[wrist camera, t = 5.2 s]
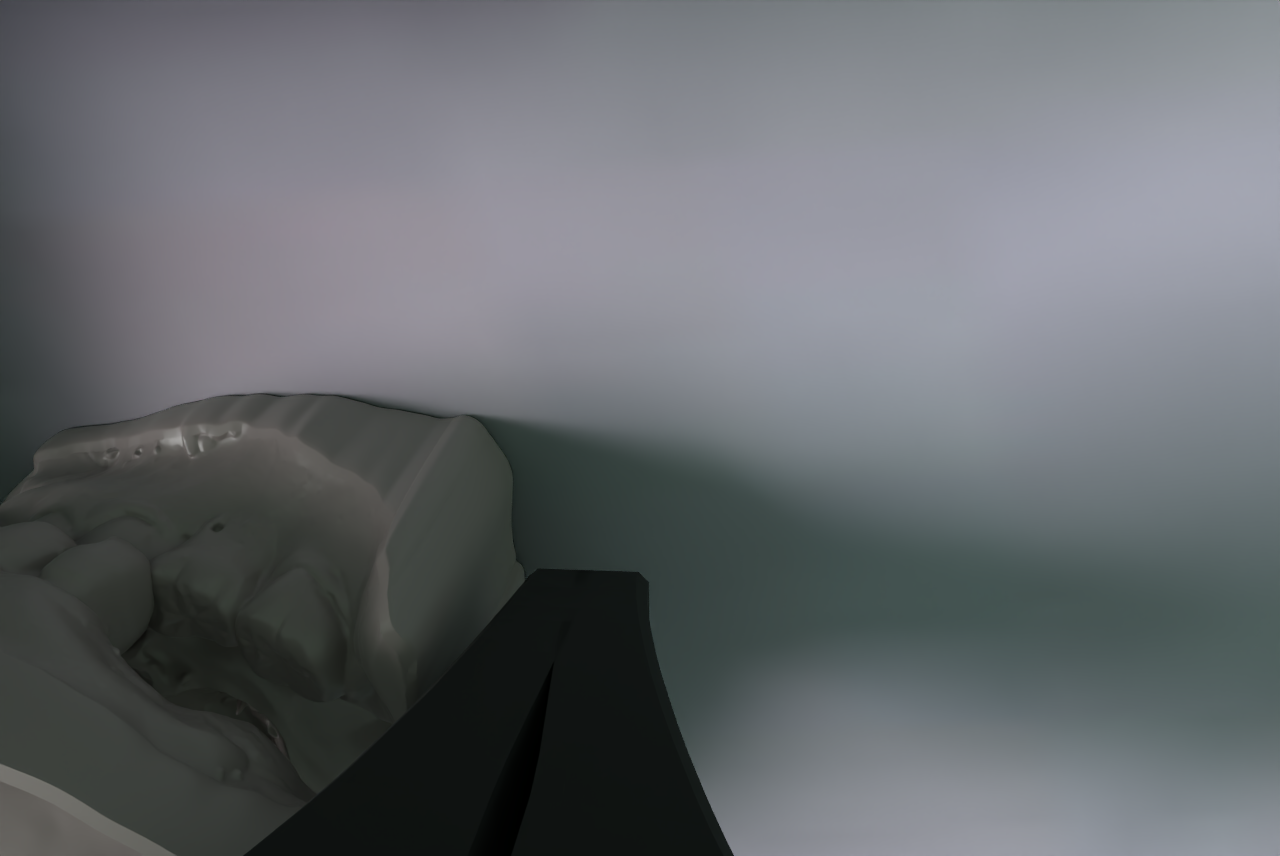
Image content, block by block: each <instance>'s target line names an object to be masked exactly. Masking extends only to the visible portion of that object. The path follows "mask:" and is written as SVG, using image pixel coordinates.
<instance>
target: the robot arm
mask: <svg viewBox="0 0 1280 856" xmlns="http://www.w3.org/2000/svg"><path fill="white" fill-rule="evenodd" d="M243 856H734V855H733V853H732V851H731V849H730V847H729V845H728V843H727V841H726V839H725V837H724V834H723V832H722V830H721V828H720V826H719V824H718V822H717V819H716V817H715V815H714V813H713V810H712V808H711V806H710V804H709V801H708V799H707V797H706V795H705V792H704V790H703V788H702V785H701V783H700V780H699V778H698V775H697V773H696V771H695V768H694V766H693V763H692V761H691V758H690V756H689V754H688V751H687V748H686V746H685V743H684V740H683V738H682V735H681V732H680V730H679V727H678V724H677V721H676V718H675V715H674V712H673V709H672V706H671V703H670V700H669V697H668V693H667V690H666V687H665V684H664V681H663V678H662V675H661V671H660V667H659V664H658V660H657V656H656V652H655V647H654V643H653V638H652V633H651V628H650V622H649V582H648V581H647V580H646V579H645V578H644V577H643V576H642V575H641V574H640V573H639V572H623V571H593V570H562V569H537V570H536V571H535V572H533V573H532V574H531V575H530V576H529V577H528V578H527V579H526V580H525V581H524V583H523V584H522V585H521V586H520V587H519V588H518V590H517V591H516V592H515V593H514V594H513V595H512V597H511V598H510V599H509V600H508V601H507V603H506V604H505V605H504V606H503V607H502V608H501V610H500V611H499V612H498V613H497V614H496V615H495V617H494V618H493V619H492V620H491V621H490V622H489V623H488V625H487V626H486V627H485V628H484V629H483V630H482V631H481V632H480V634H479V635H478V636H477V637H476V638H475V639H474V640H473V641H472V643H471V644H470V645H469V646H468V647H467V648H466V649H465V650H464V651H463V653H462V654H461V655H460V656H459V657H458V658H457V659H456V660H455V661H454V662H453V663H452V664H451V665H450V666H449V667H448V668H447V670H446V671H445V672H444V673H443V674H442V675H441V676H440V677H439V678H438V679H437V680H436V681H435V682H434V683H433V684H432V685H431V686H430V688H429V689H428V690H427V691H426V692H425V693H424V694H423V695H422V696H421V697H420V698H419V699H418V700H417V701H416V702H415V703H414V704H413V705H412V706H411V707H410V708H409V709H408V710H407V711H406V712H405V713H404V714H403V715H402V716H401V717H400V718H399V719H398V720H397V721H396V722H395V723H394V724H392V725H391V726H390V727H389V728H388V729H387V730H386V731H385V732H384V733H383V734H382V735H381V736H380V737H379V738H378V739H377V740H376V741H375V742H374V743H373V744H372V745H370V746H369V747H368V748H367V749H366V750H365V751H364V752H363V753H362V754H361V755H360V756H359V757H358V758H357V759H356V760H355V761H354V762H353V763H352V764H351V765H350V766H348V767H347V768H346V769H345V770H344V771H343V772H342V773H341V774H340V775H338V776H337V777H336V778H335V779H334V780H333V781H332V782H331V783H329V784H328V785H327V786H326V787H325V788H324V789H323V790H321V791H320V792H319V793H318V794H317V795H316V796H315V797H313V798H312V799H311V800H310V801H309V802H308V803H306V804H305V805H304V806H303V807H302V808H301V809H299V810H298V811H297V812H296V813H295V814H294V815H292V816H291V817H290V818H289V819H287V820H286V821H285V822H284V823H283V824H281V825H280V826H279V827H278V828H276V829H275V830H274V831H273V832H271V833H270V834H269V835H268V836H267V837H265V838H264V839H263V840H262V841H260V842H259V843H258V844H257V845H256V846H254V847H253V848H252V849H251V850H249V851H248V852H247V853H246V854H244V855H243Z"/></svg>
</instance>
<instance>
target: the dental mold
mask: <svg viewBox="0 0 1280 856" xmlns="http://www.w3.org/2000/svg"><path fill="white" fill-rule="evenodd" d="M33 462H34V470H33V471H32V472H31V473H30V474H29V475H28V476H27V477H25V478H24V479H23V480H22V481H21V482H20V483H19V484H18V485H17V486H16V487H15V488H14V489H13V490H12V491H11V492H10V494H9V495H8V496H7V497H6V499H5V500H4V502H3V503H2V504H1V505H0V856H243V855H244V854H246V853H247V852H248V851H249V850H251V849H252V848H253V847H254V846H256V845H257V844H258V843H259V842H260V841H262V840H263V839H264V838H265V837H267V836H268V835H269V834H270V833H271V832H273V831H274V830H275V829H276V828H278V827H279V826H280V825H281V824H283V823H284V822H285V821H286V820H287V819H289V818H290V817H291V816H292V815H294V814H295V813H296V812H297V811H298V810H299V809H301V808H302V807H303V806H304V805H305V804H306V803H308V802H309V801H310V800H311V799H312V798H313V797H315V796H316V795H317V794H318V793H319V792H320V791H321V790H323V789H324V788H325V787H326V786H327V785H328V784H329V783H331V782H332V781H333V780H334V779H335V778H336V777H337V776H338V775H340V774H341V773H342V772H343V771H344V770H345V769H346V768H347V767H348V766H350V765H351V764H352V763H353V762H354V761H355V760H356V759H357V758H358V757H359V756H360V755H361V754H362V753H363V752H364V751H365V750H366V749H367V748H368V747H369V746H370V745H372V744H373V743H374V742H375V741H376V740H377V739H378V738H379V737H380V736H381V735H382V734H383V733H384V732H385V731H386V730H387V729H388V728H389V727H390V726H391V725H392V724H394V723H395V722H396V721H397V720H398V719H399V718H400V717H401V716H402V715H403V714H404V713H405V712H406V711H407V710H408V709H409V708H410V707H411V706H412V705H413V704H414V703H415V702H416V701H417V700H418V699H419V698H420V697H421V696H422V695H423V694H424V693H425V692H426V691H427V690H428V689H429V688H430V686H431V685H432V684H433V683H434V682H435V681H436V680H437V679H438V678H439V677H440V676H441V675H442V674H443V673H444V672H445V671H446V670H447V668H448V667H449V666H450V665H451V664H452V663H453V662H454V661H455V660H456V659H457V658H458V657H459V656H460V655H461V654H462V653H463V651H464V650H465V649H466V648H467V647H468V646H469V645H470V644H471V643H472V641H473V640H474V639H475V638H476V637H477V636H478V635H479V634H480V632H481V631H482V630H483V629H484V628H485V627H486V626H487V625H488V623H489V622H490V621H491V620H492V619H493V618H494V617H495V615H496V614H497V613H498V612H499V611H500V610H501V608H502V607H503V606H504V605H505V604H506V603H507V601H508V600H509V599H510V598H511V597H512V595H513V594H514V593H515V592H516V591H517V590H518V588H519V587H520V586H521V585H522V584H523V583H524V581H525V575H524V569H523V566H522V565H521V564H520V563H518V562H517V561H516V552H515V548H514V545H513V535H512V523H511V515H512V496H513V475H512V471H511V467H510V464H509V462H508V460H507V458H506V457H505V455H504V453H503V452H502V451H501V449H500V448H499V446H498V445H497V444H496V442H495V441H494V439H493V438H492V437H491V435H490V434H489V433H488V431H487V430H486V428H485V427H484V426H483V425H482V424H481V423H480V422H479V421H478V420H476V419H474V418H472V417H470V416H467V415H461V416H457V417H455V418H444V419H437V418H434V417H431V416H427V415H422V414H416V413H411V412H406V411H401V410H395V409H386V408H380V407H375V406H372V405H369V404H366V403H362V402H359V401H355V400H351V399H347V398H343V397H339V396H332V395H330V396H317V395H308V394H303V395H294V396H287V397H276V396H271V395H265V394H254V395H248V396H221V397H214V398H209V399H205V400H201V401H197V402H192V403H187V404H182V405H178V406H174V407H171V408H168V409H166V410H163V411H160V412H157V413H154V414H151V415H148V416H145V417H143V418H139V419H136V420H130V421H124V422H120V423H116V424H110V425H98V426H88V427H80V428H71V429H66V430H63V431H61V432H59V433H57V434H56V435H54V436H53V437H51V438H50V439H49V440H47V441H46V442H45V443H44V444H43V445H42V446H41V447H40V448H39V449H38V450H37V451H36V453H35V454H34V457H33Z"/></svg>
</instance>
